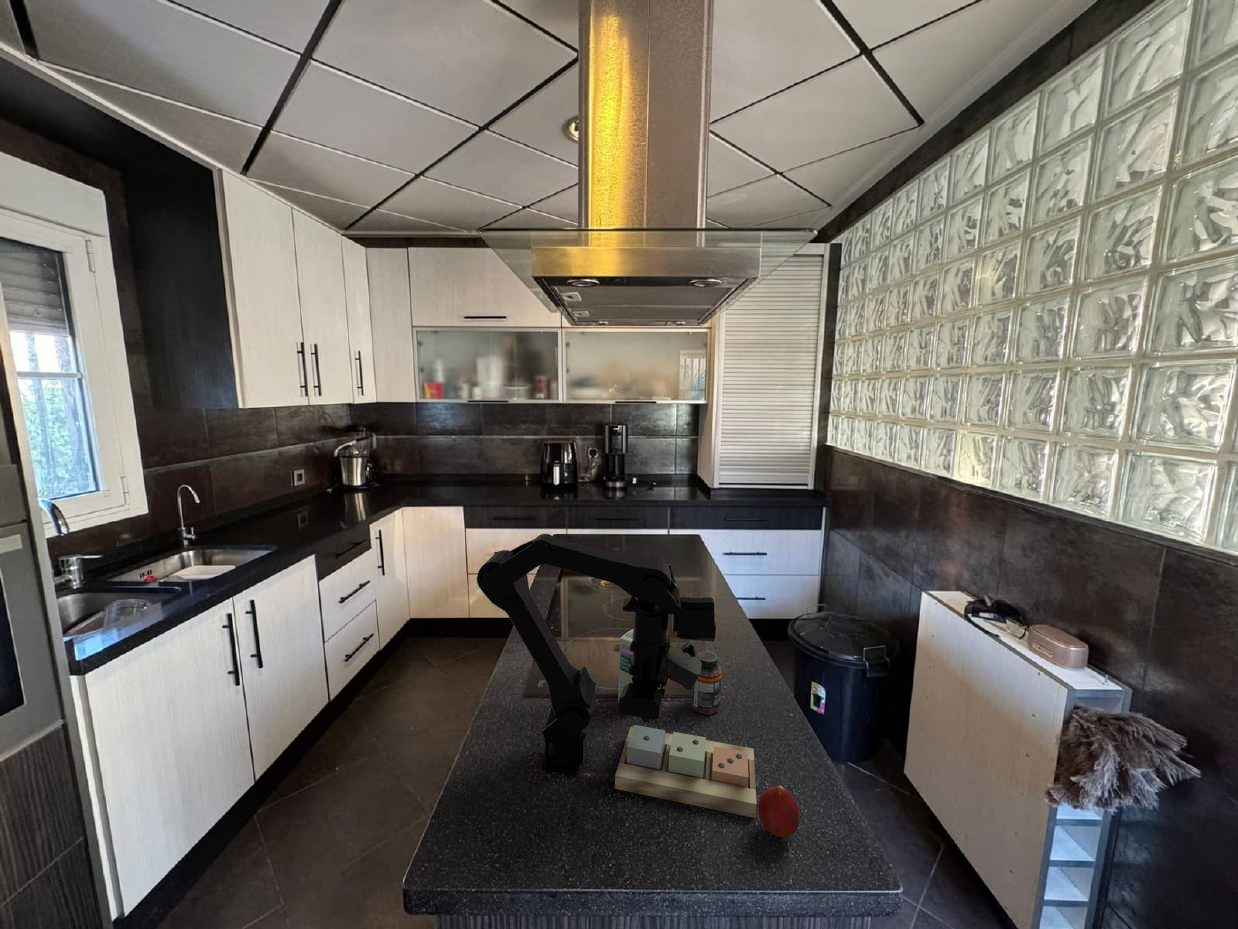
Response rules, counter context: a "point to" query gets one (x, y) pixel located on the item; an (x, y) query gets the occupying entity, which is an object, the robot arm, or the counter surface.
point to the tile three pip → (730, 767)
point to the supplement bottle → (707, 685)
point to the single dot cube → (646, 747)
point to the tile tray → (689, 782)
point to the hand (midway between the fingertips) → (646, 721)
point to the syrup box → (625, 661)
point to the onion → (779, 811)
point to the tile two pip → (687, 754)
